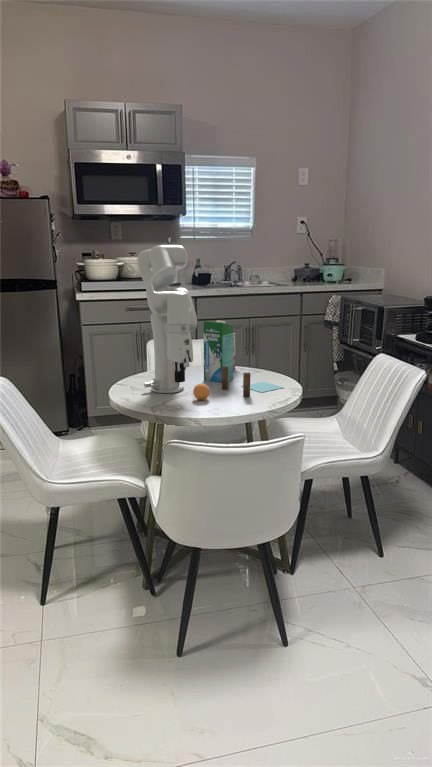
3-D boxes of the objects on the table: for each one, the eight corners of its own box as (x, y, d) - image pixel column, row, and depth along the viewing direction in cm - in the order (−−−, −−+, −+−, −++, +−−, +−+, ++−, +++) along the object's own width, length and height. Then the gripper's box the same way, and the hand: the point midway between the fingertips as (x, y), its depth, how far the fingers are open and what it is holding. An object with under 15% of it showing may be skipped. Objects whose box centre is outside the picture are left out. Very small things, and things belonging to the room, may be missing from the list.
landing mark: (261, 392, 201) (261, 392, 201) (241, 386, 211) (241, 386, 211) (284, 387, 209) (284, 387, 208) (263, 382, 218) (263, 381, 218)
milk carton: (233, 378, 224) (233, 319, 218) (221, 383, 216) (222, 322, 210) (215, 376, 228) (215, 318, 222) (203, 380, 221) (203, 320, 215)
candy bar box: (224, 367, 245) (225, 332, 241) (235, 368, 244) (235, 332, 240) (220, 373, 234) (220, 336, 230) (231, 373, 233) (231, 336, 229)
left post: (224, 390, 205) (224, 367, 202) (220, 389, 207) (220, 366, 204) (229, 389, 206) (229, 367, 204) (225, 388, 208) (225, 365, 206)
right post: (246, 397, 195) (246, 374, 192) (241, 396, 197) (241, 372, 194) (251, 396, 196) (251, 373, 194) (247, 395, 198) (247, 371, 196)
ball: (199, 403, 188) (199, 386, 186) (190, 399, 193) (189, 383, 191) (213, 400, 191) (213, 384, 190) (203, 396, 196) (203, 381, 195)
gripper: (200, 330, 176) (201, 383, 180) (175, 326, 188) (177, 377, 192) (181, 331, 172) (182, 386, 175) (157, 328, 183) (159, 379, 187)
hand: (179, 381), depth 183 cm, fingers closed
